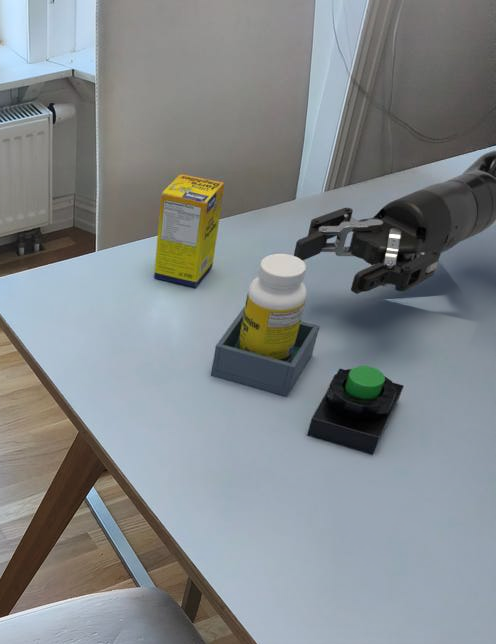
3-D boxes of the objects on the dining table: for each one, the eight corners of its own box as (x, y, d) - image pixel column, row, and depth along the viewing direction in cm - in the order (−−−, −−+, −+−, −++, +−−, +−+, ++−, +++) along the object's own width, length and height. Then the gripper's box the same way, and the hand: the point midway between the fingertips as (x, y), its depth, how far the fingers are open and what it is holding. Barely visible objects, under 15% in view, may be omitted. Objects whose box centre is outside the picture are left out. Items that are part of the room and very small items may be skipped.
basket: (312, 355, 102) (320, 325, 99) (287, 396, 98) (294, 367, 95) (238, 335, 105) (243, 306, 102) (210, 375, 100) (215, 345, 98)
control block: (397, 402, 96) (409, 370, 93) (373, 454, 91) (384, 423, 88) (334, 384, 99) (343, 353, 96) (306, 435, 93) (315, 403, 90)
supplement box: (212, 267, 115) (225, 181, 107) (195, 289, 112) (207, 202, 104) (170, 257, 117) (180, 172, 109) (152, 278, 114) (161, 192, 105)
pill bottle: (230, 343, 103) (247, 251, 94) (282, 339, 103) (304, 247, 94) (242, 374, 99) (261, 281, 90) (297, 370, 99) (321, 277, 90)
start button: (384, 385, 92) (389, 371, 91) (374, 404, 90) (379, 390, 89) (350, 376, 94) (354, 362, 92) (340, 394, 92) (344, 380, 90)
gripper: (385, 169, 103) (285, 209, 97) (489, 215, 95) (386, 261, 90) (367, 232, 108) (271, 274, 103) (463, 280, 101) (366, 327, 95)
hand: (325, 268), depth 96 cm, fingers open, 8 cm apart
